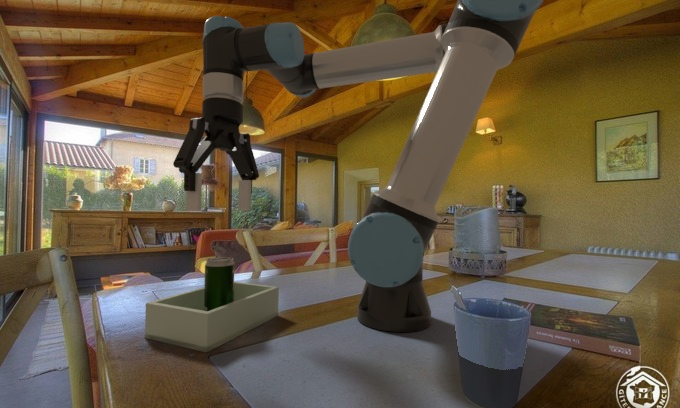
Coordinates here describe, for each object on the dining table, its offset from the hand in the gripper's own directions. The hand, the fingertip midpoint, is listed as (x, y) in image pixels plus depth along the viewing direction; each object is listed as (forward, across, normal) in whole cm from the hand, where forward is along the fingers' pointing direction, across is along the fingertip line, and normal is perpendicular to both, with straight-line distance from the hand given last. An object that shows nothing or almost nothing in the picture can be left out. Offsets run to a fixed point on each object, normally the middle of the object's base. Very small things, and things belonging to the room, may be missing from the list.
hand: (221, 210), depth 64 cm
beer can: (+22, 0, 0) cm, 22 cm away
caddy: (+22, 0, 0) cm, 22 cm away
